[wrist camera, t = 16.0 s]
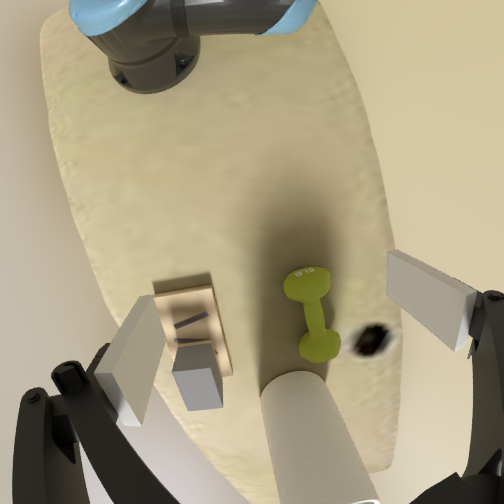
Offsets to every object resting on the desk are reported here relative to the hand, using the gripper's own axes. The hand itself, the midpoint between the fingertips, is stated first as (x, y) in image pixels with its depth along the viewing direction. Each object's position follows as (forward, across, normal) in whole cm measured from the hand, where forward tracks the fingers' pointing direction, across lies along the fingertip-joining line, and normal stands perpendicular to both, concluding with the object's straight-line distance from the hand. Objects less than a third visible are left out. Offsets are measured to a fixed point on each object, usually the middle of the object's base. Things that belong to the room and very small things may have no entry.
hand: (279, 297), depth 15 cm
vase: (+30, +4, -38) cm, 49 cm away
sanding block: (+28, -12, -24) cm, 39 cm away
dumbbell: (+31, +9, -18) cm, 37 cm away
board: (+30, -12, -19) cm, 38 cm away
